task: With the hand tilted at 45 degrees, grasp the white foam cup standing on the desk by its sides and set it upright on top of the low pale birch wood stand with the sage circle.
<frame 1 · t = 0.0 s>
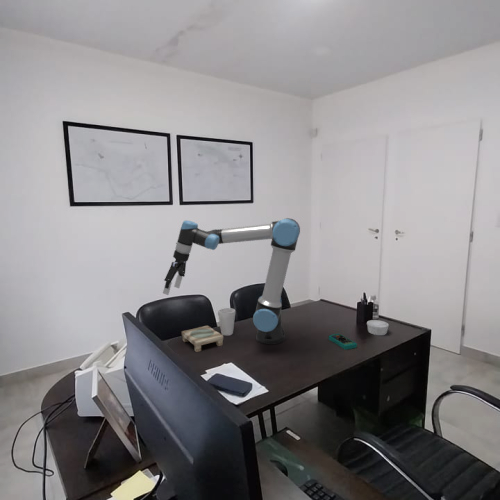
hand: (171, 290, 171), 28 cm above the table, tool tilted 20°, fingers open, 13 cm apart
foam cup: (227, 333, 187), on the table
stand: (202, 342, 174), on the table
ramekin: (377, 332, 185), on the table
digital multimeter: (342, 344, 171), on the table
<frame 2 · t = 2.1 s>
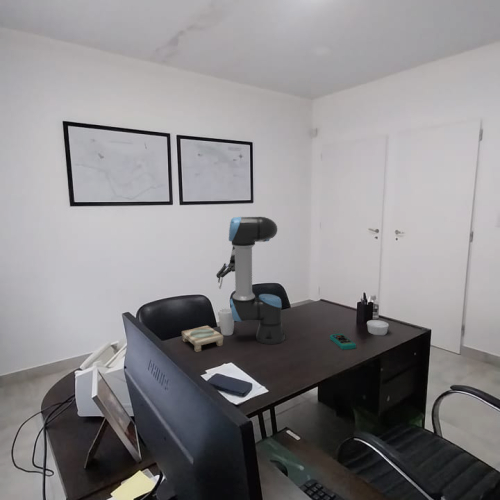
hand: (231, 288, 195), 23 cm above the table, tool tilted 45°, fingers open, 13 cm apart
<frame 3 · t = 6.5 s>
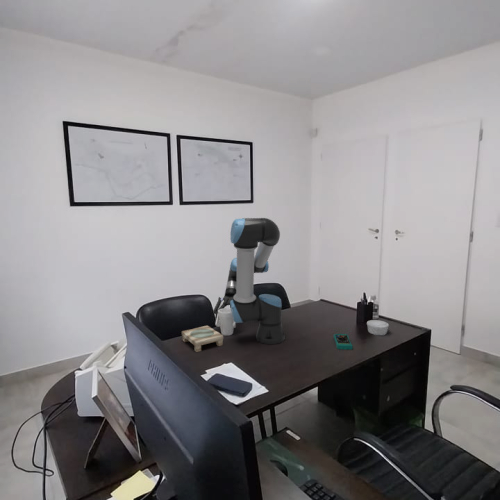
hand: (225, 326, 183), 5 cm above the table, tool tilted 45°, fingers closed on foam cup, 9 cm apart
foam cup: (227, 333, 187), on the table, touching gripper
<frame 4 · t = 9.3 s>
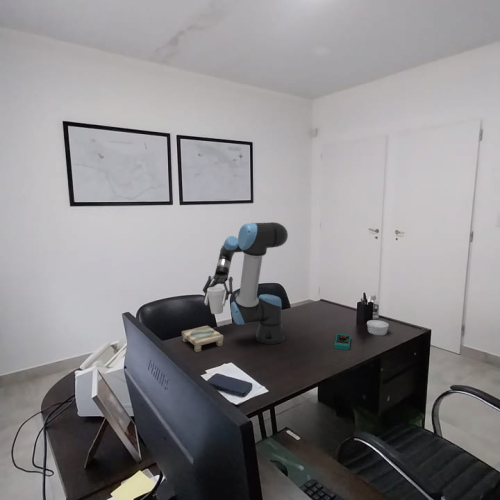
hand: (214, 304, 179), 18 cm above the table, tool tilted 45°, fingers closed on foam cup, 9 cm apart
foam cup: (217, 312, 183), point 13 cm above the table, touching gripper
when the fingers open (12 cm above the table, at t = 12.3 s): foam cup drops 1 cm, resting on stand.
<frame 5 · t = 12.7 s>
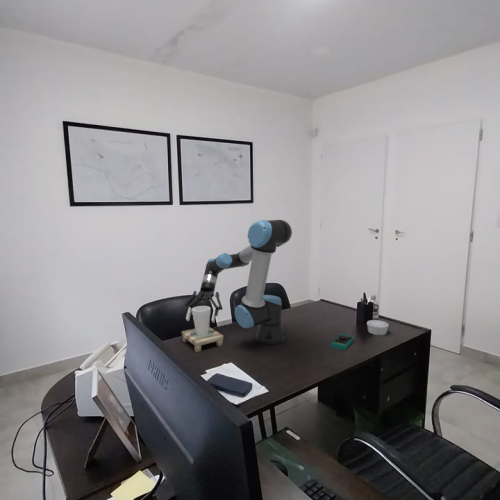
hand: (199, 320, 171), 13 cm above the table, tool tilted 45°, fingers open, 13 cm apart
foam cup: (202, 333, 174), point 5 cm above the table, touching stand
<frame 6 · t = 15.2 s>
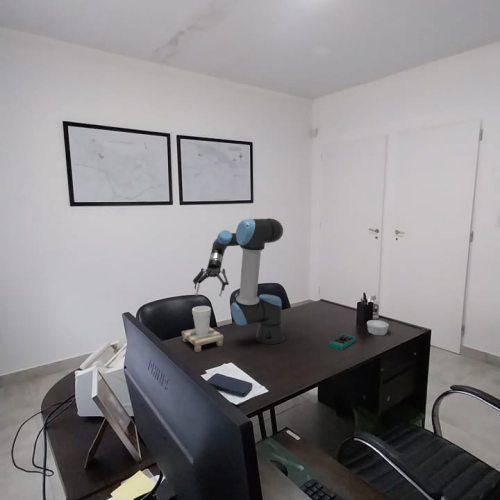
hand: (207, 294, 182), 23 cm above the table, tool tilted 45°, fingers open, 13 cm apart
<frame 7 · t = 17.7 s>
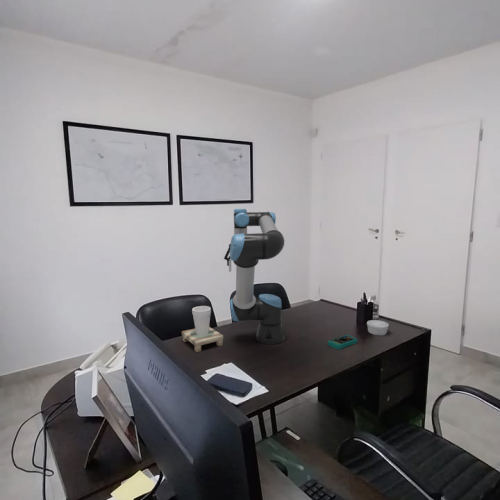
hand: (241, 271, 198), 32 cm above the table, tool pointing down, fingers open, 13 cm apart
at the end: foam cup inside the target area on the stand (0.2 cm from its centre), point 5.0 cm above the stand's base; foam cup tilted 0°; the gripper is holding nothing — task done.
